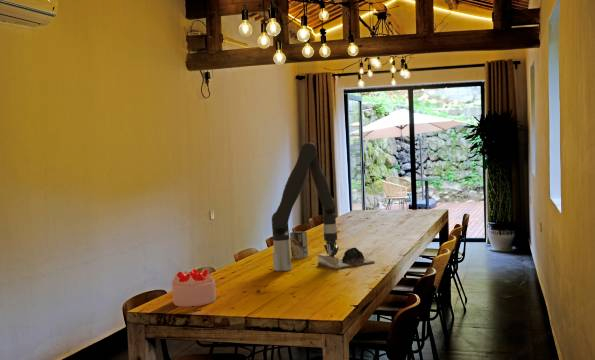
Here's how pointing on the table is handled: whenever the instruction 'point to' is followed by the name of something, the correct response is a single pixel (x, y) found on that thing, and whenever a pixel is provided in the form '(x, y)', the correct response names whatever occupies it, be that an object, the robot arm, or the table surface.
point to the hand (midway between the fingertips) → (332, 262)
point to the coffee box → (299, 244)
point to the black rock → (353, 256)
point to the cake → (193, 288)
